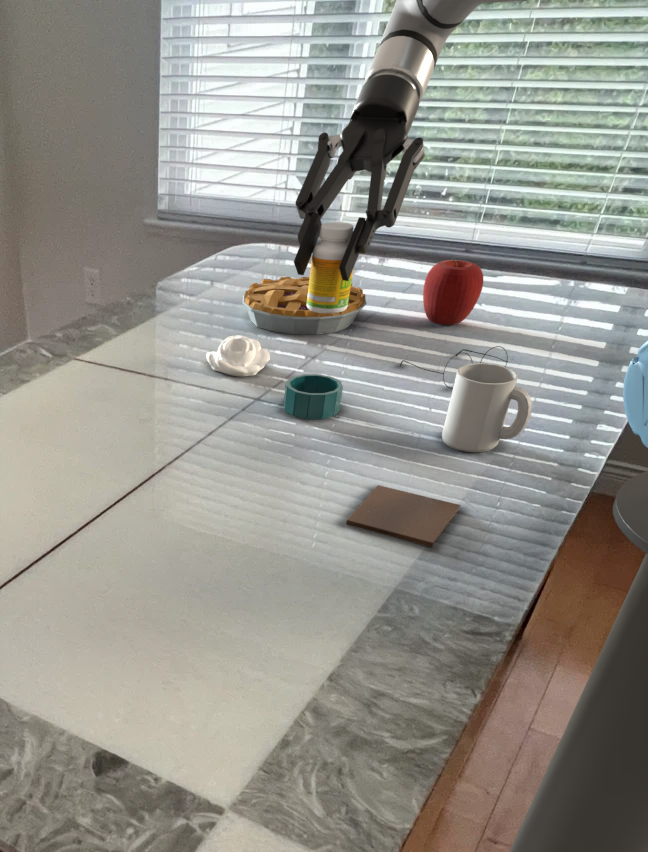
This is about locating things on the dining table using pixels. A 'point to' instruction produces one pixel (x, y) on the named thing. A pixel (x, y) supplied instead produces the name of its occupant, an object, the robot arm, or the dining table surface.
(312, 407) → the teal bowl
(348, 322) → the pie
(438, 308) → the apple
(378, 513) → the coaster
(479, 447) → the cup
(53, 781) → the dining table surface
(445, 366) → the eyeglasses
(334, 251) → the supplement bottle
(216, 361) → the rose
